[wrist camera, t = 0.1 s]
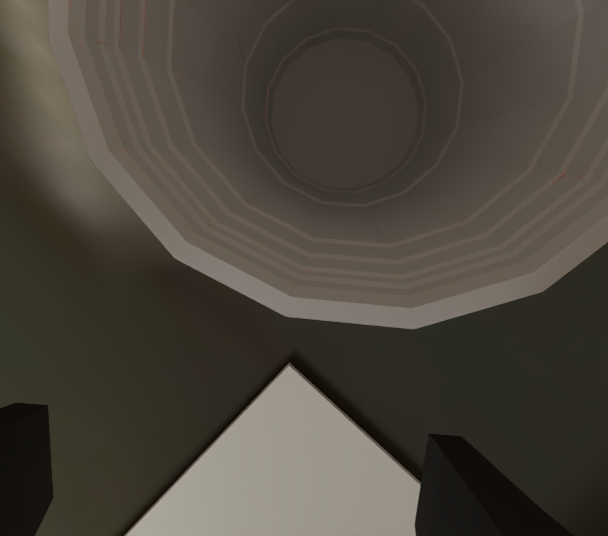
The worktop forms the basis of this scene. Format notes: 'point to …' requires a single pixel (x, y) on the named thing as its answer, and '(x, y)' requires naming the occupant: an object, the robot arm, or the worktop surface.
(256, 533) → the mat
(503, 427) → the worktop surface
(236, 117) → the plastic cup
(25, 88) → the worktop surface
